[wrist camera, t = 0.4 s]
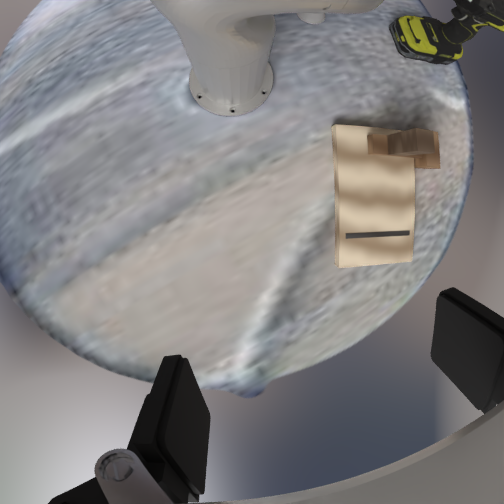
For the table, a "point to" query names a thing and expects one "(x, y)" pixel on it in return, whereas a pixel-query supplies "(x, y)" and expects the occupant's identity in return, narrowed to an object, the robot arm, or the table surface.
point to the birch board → (371, 201)
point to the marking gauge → (408, 146)
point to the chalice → (312, 17)
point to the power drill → (445, 31)
